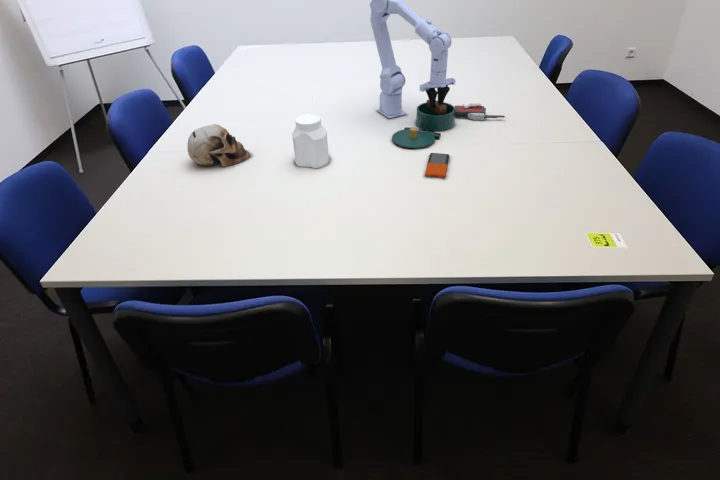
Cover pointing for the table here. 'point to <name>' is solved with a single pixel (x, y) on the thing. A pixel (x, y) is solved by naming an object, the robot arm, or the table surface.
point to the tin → (435, 118)
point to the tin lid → (413, 138)
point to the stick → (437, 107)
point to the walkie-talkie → (473, 112)
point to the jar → (310, 142)
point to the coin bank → (215, 147)
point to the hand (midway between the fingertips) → (436, 106)
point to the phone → (437, 165)
